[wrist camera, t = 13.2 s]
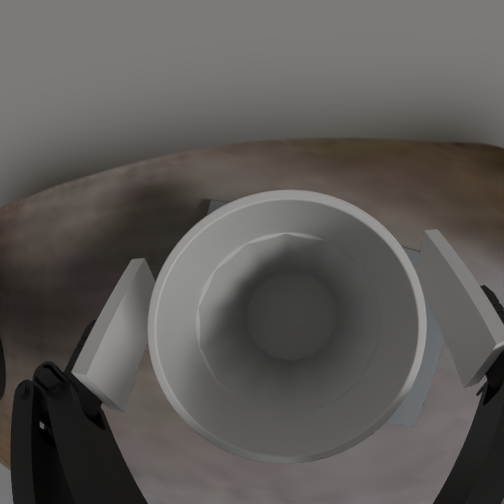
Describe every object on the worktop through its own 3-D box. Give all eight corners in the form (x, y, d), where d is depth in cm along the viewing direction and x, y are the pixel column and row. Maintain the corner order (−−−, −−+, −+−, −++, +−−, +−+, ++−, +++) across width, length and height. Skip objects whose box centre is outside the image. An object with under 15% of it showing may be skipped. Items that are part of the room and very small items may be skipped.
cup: (238, 254, 20) (161, 189, 8) (352, 259, 19) (425, 198, 7) (230, 366, 19) (146, 438, 7) (344, 373, 18) (401, 460, 6)
